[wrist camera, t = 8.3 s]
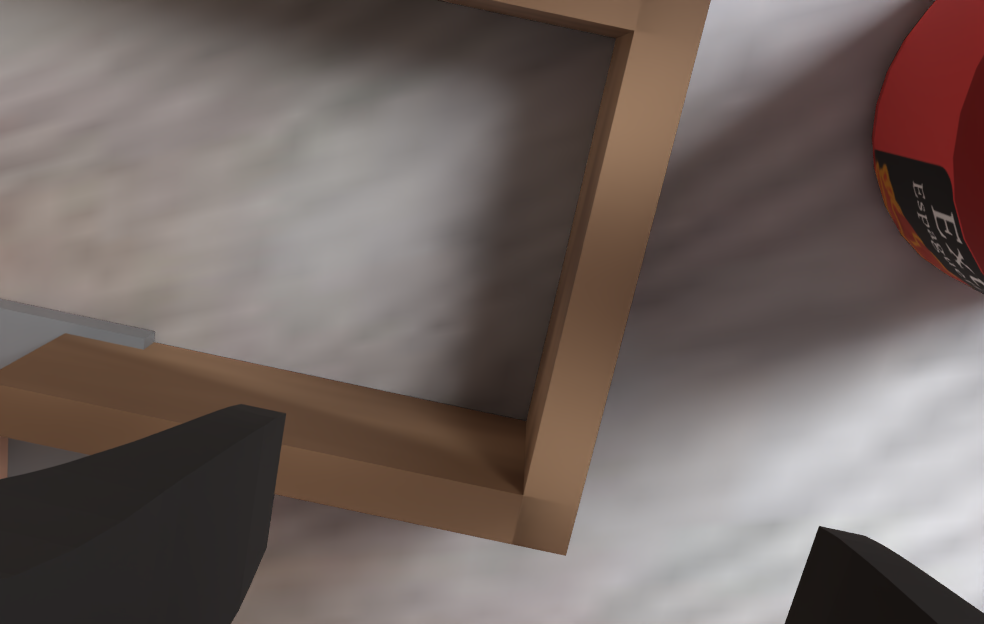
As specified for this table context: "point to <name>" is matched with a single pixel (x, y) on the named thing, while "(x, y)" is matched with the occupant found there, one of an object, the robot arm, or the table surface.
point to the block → (3, 457)
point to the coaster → (24, 328)
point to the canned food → (937, 139)
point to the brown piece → (412, 421)
